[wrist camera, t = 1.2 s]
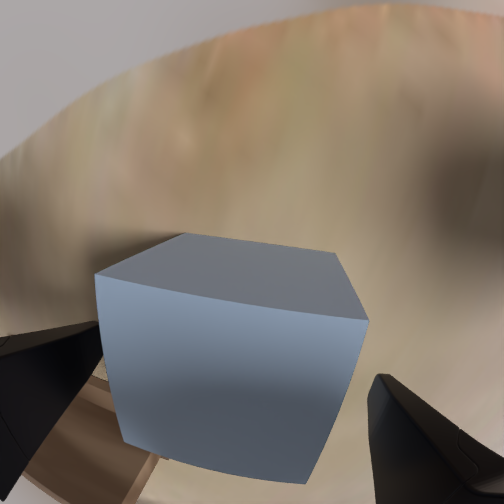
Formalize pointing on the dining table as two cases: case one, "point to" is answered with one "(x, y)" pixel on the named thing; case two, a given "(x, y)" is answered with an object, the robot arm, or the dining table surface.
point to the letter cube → (230, 352)
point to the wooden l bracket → (90, 454)
